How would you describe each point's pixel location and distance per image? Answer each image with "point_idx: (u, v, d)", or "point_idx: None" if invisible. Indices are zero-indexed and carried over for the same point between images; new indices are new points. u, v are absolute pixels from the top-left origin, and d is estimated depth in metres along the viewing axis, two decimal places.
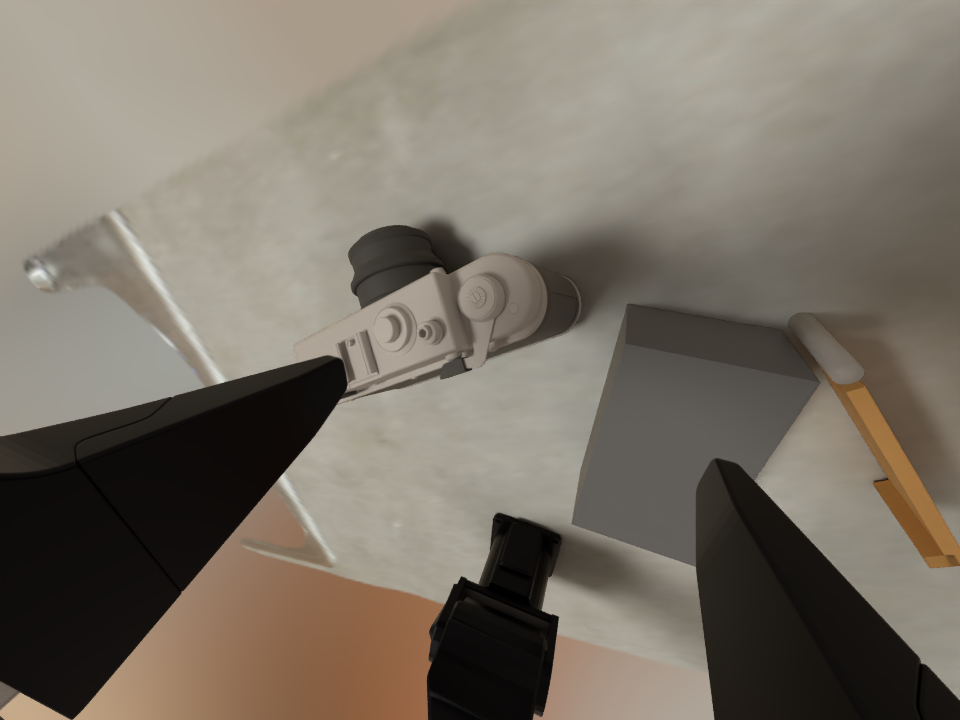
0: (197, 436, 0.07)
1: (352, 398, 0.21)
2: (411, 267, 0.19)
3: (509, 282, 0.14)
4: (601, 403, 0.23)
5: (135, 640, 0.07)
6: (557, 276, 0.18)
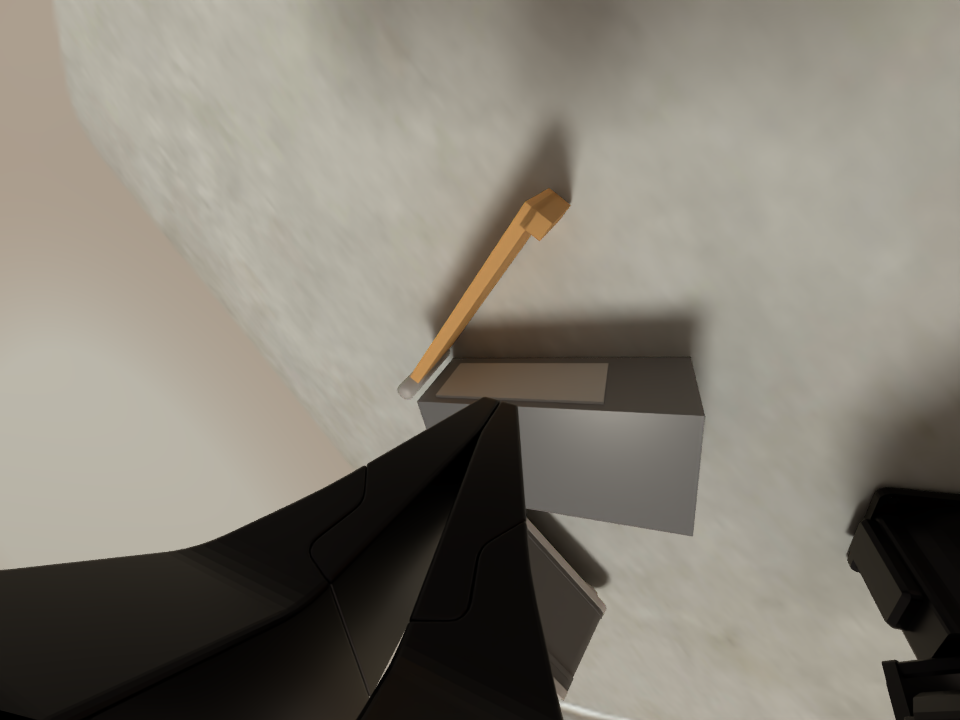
0: (405, 516, 0.06)
1: None
2: None
3: None
4: None
5: None
6: None
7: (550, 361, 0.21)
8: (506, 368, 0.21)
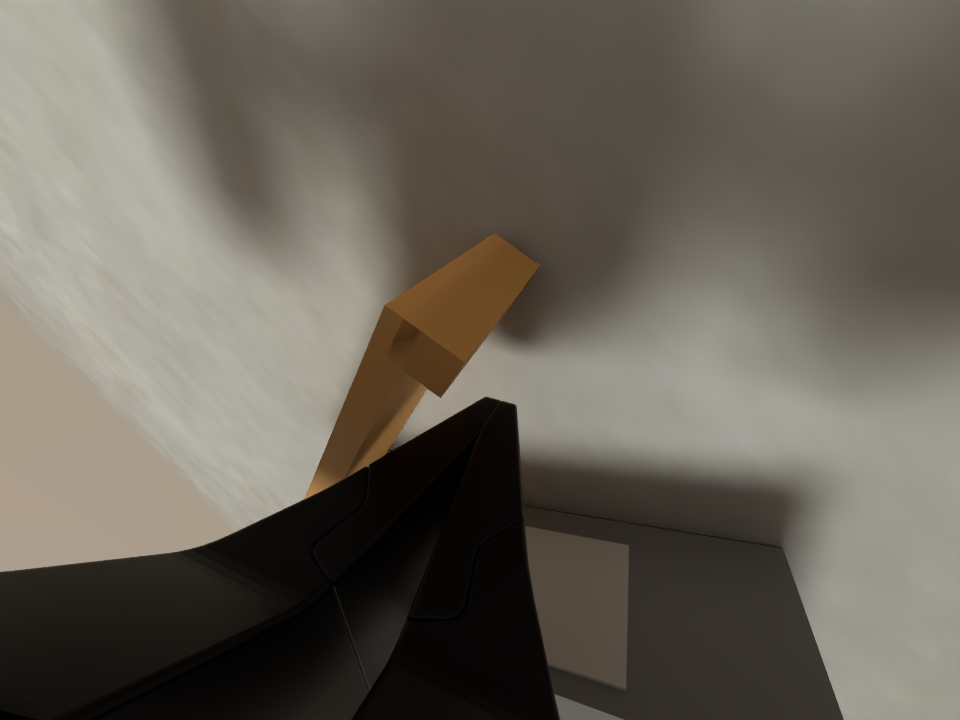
0: (407, 517, 0.06)
1: None
2: None
3: None
4: None
5: None
6: None
7: (529, 517, 0.13)
8: None
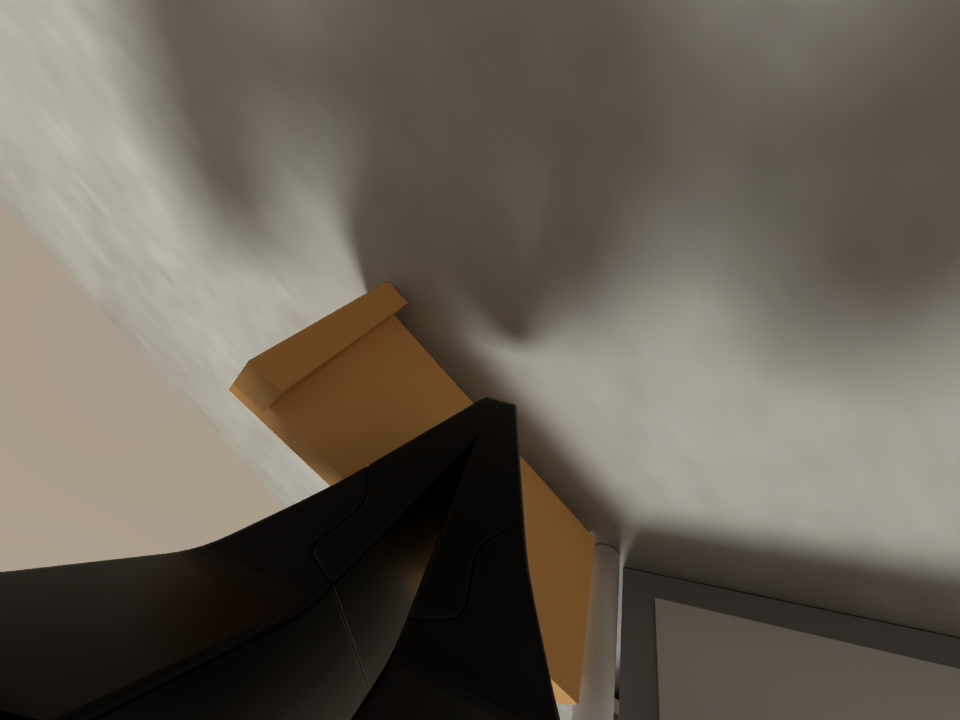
0: (407, 516, 0.06)
1: None
2: None
3: None
4: None
5: None
6: None
7: (882, 637, 0.10)
8: (788, 651, 0.10)
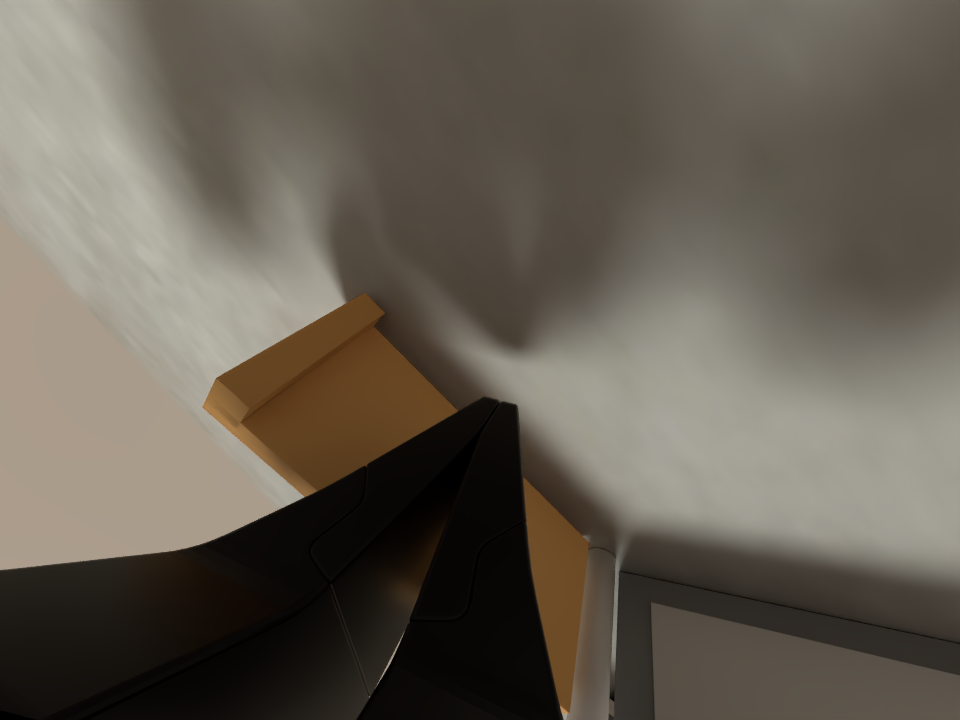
0: (405, 516, 0.06)
1: None
2: None
3: None
4: None
5: None
6: None
7: (881, 642, 0.10)
8: (786, 658, 0.10)
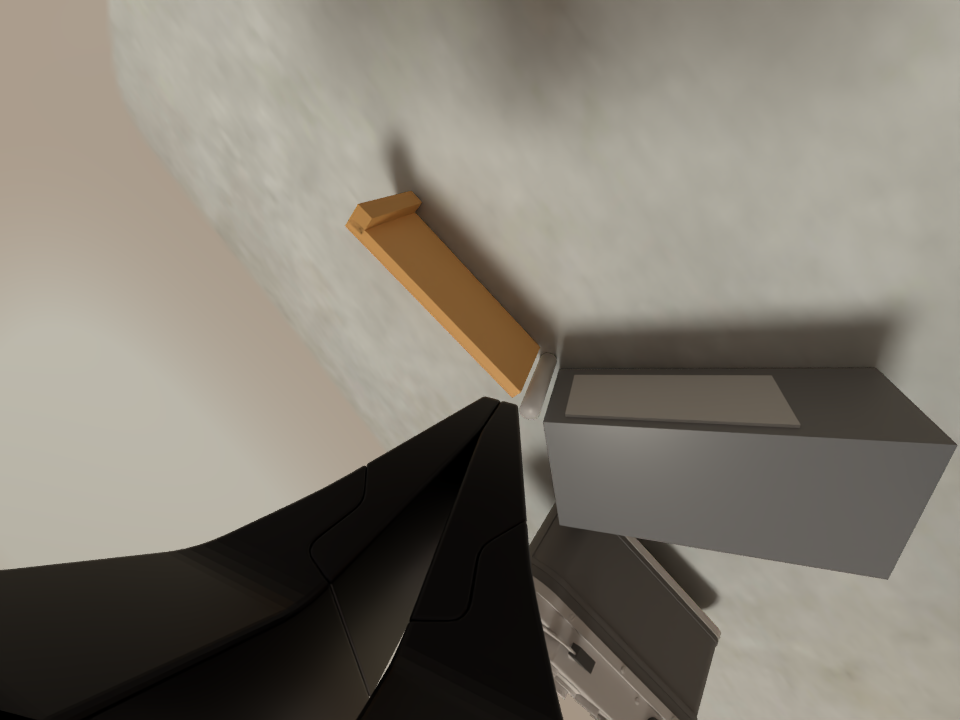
0: (405, 516, 0.06)
1: None
2: None
3: None
4: None
5: None
6: (544, 520, 0.25)
7: (689, 372, 0.19)
8: (639, 381, 0.19)
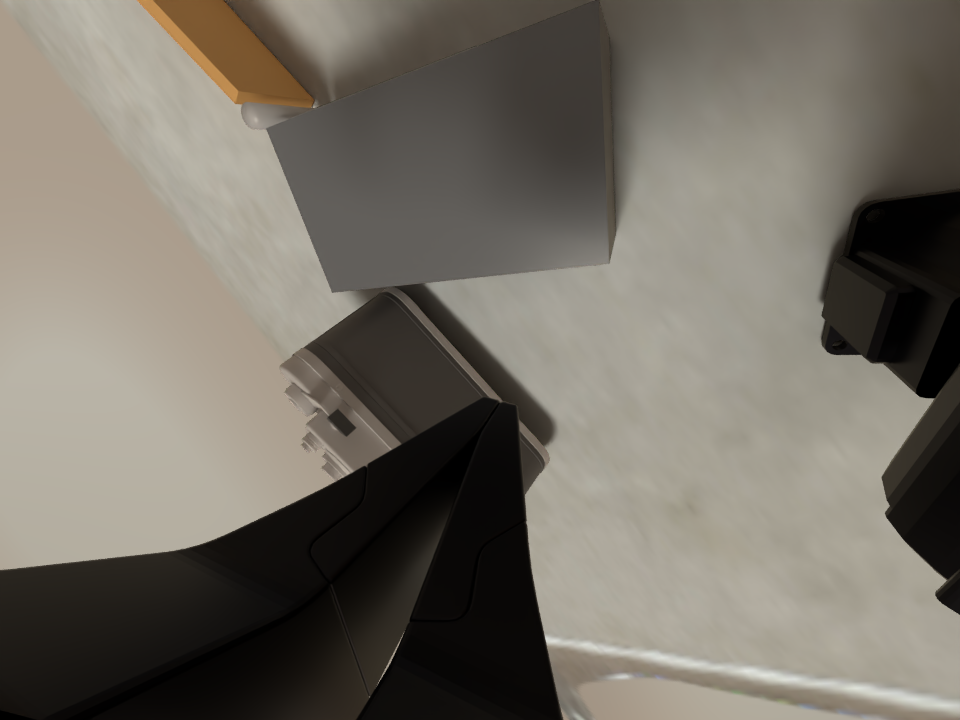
0: (405, 516, 0.06)
1: None
2: None
3: (288, 380, 0.20)
4: None
5: None
6: None
7: None
8: None
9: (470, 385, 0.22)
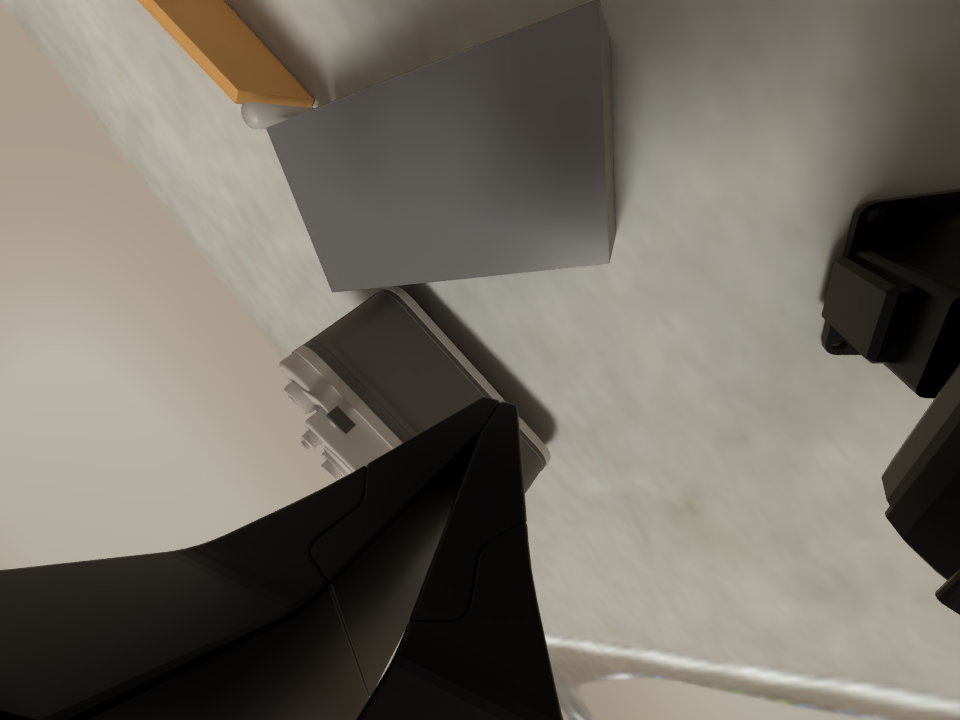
0: (405, 516, 0.06)
1: None
2: None
3: (288, 378, 0.20)
4: None
5: None
6: None
7: None
8: None
9: (470, 383, 0.22)
